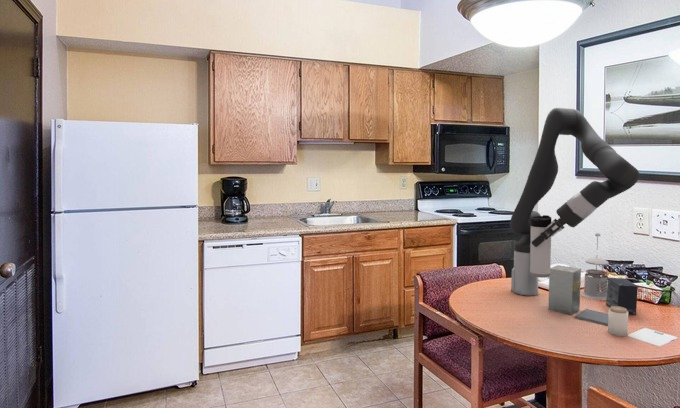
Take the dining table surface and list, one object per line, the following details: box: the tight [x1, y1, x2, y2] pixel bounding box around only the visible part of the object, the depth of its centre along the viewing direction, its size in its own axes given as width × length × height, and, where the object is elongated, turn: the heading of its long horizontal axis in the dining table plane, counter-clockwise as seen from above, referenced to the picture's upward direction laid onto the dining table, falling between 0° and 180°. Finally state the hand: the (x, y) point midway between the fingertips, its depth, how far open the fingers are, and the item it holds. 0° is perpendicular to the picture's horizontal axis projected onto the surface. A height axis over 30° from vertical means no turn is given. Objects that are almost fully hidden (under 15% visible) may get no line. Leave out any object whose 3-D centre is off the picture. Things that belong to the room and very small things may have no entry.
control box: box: [547, 264, 582, 315], centre depth 159 cm, size 9×7×15 cm
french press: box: [580, 232, 609, 301], centre depth 174 cm, size 10×12×25 cm
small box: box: [605, 276, 639, 316], centre depth 158 cm, size 11×6×10 cm, turn 168°
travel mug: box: [530, 214, 552, 279], centre depth 148 cm, size 6×7×20 cm
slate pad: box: [574, 308, 608, 327], centre depth 150 cm, size 10×10×1 cm
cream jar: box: [607, 306, 629, 337], centre depth 137 cm, size 5×5×8 cm
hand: (535, 243), depth 149 cm, fingers closed on travel mug, 6 cm apart
